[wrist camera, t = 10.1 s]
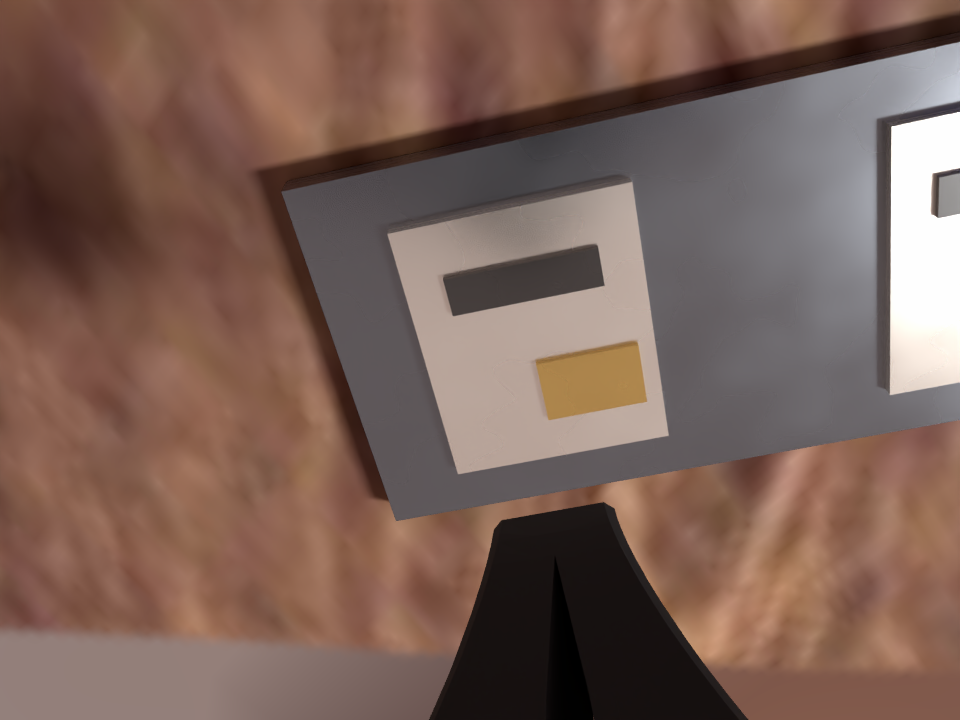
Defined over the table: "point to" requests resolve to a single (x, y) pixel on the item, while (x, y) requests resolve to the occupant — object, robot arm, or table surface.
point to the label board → (651, 282)
